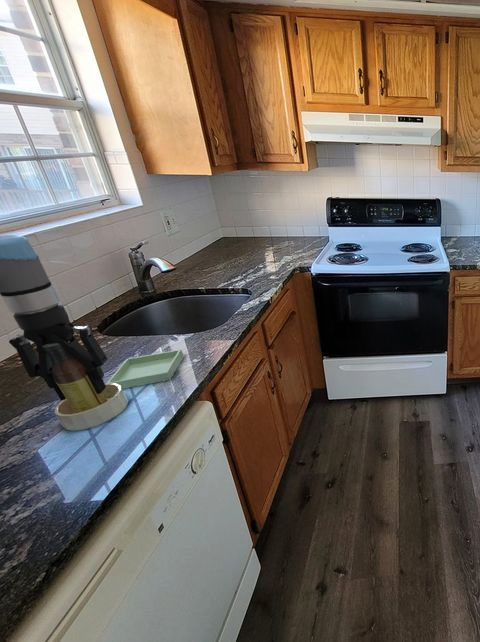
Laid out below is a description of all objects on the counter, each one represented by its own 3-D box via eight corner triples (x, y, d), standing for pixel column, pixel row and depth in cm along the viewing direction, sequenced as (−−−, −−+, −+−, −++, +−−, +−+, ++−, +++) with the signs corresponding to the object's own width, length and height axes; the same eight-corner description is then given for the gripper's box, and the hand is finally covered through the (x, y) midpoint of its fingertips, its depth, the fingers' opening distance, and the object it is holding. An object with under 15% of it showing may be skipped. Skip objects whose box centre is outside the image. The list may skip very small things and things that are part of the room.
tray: (109, 391, 99) (105, 384, 98) (129, 365, 110) (126, 358, 109) (170, 379, 103) (167, 372, 102) (183, 355, 114) (181, 349, 113)
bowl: (51, 436, 84) (41, 421, 82) (80, 403, 95) (72, 389, 93) (115, 422, 88) (107, 408, 86) (136, 392, 98) (129, 378, 96)
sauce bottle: (96, 399, 94) (62, 332, 86) (116, 402, 93) (83, 334, 85) (68, 417, 88) (27, 346, 80) (88, 420, 87) (49, 349, 79)
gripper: (100, 295, 85) (137, 376, 94) (-9, 307, 79) (43, 393, 89) (83, 307, 78) (125, 393, 88) (-37, 322, 73) (22, 413, 82)
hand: (84, 393), depth 88 cm, fingers closed on sauce bottle, 6 cm apart
